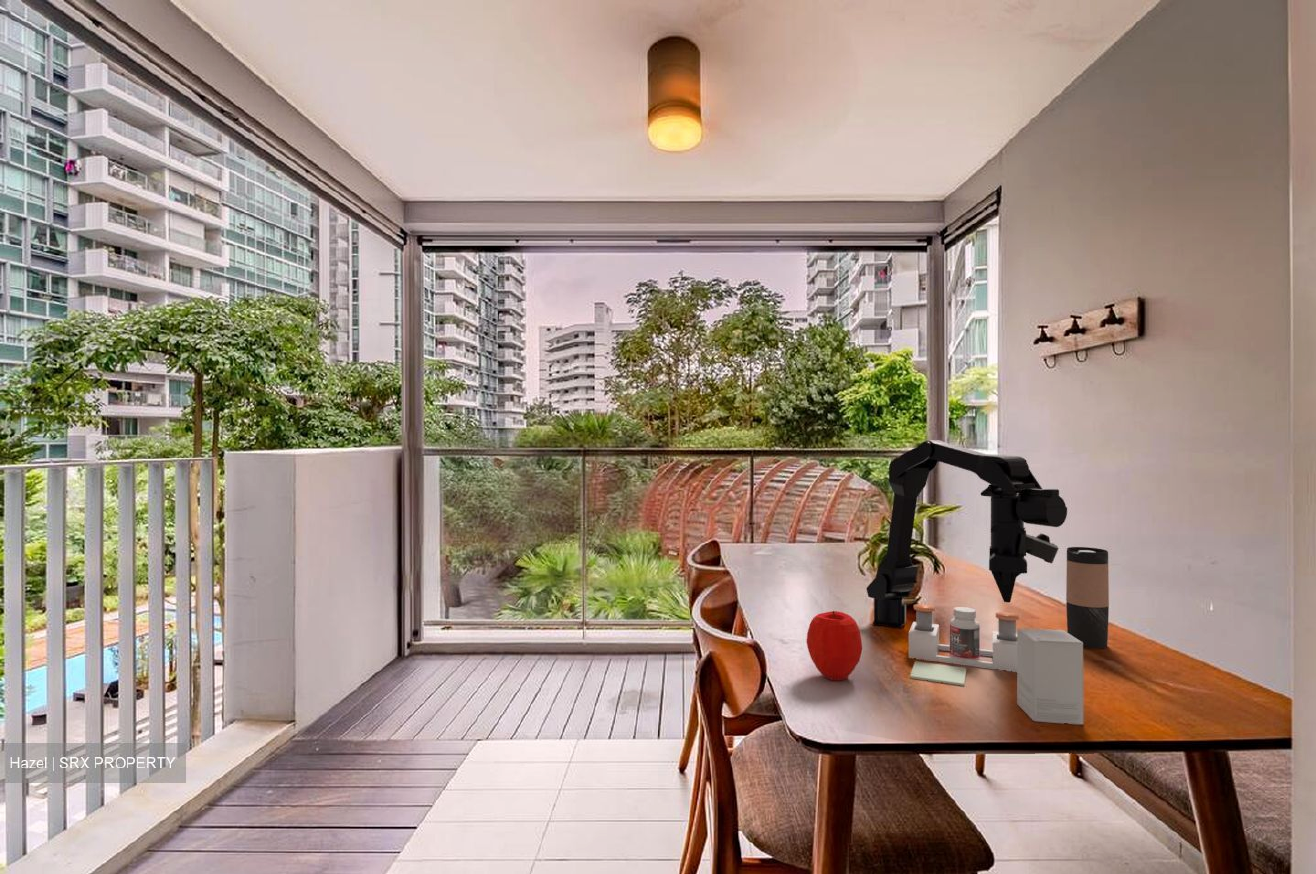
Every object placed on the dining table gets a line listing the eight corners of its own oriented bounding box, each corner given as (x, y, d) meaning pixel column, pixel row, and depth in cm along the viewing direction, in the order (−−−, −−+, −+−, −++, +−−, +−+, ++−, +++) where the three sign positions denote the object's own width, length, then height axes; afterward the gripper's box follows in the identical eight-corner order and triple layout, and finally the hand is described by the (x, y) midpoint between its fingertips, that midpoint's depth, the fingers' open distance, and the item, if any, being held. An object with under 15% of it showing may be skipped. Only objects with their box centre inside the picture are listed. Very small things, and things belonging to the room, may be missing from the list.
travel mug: (1105, 641, 147) (1105, 548, 147) (1112, 651, 140) (1111, 553, 140) (1064, 637, 150) (1064, 545, 150) (1068, 646, 143) (1068, 551, 143)
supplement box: (1085, 725, 104) (1085, 642, 104) (1032, 722, 105) (1032, 640, 105) (1065, 707, 111) (1064, 629, 111) (1015, 703, 112) (1015, 627, 112)
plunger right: (995, 642, 131) (995, 616, 131) (995, 636, 134) (995, 611, 135) (1019, 644, 129) (1019, 618, 129) (1018, 639, 133) (1018, 613, 133)
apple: (813, 665, 131) (813, 601, 131) (866, 672, 127) (866, 607, 127) (800, 681, 122) (800, 613, 122) (857, 690, 118) (857, 620, 118)
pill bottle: (946, 659, 135) (946, 609, 135) (954, 652, 139) (954, 604, 139) (975, 665, 131) (975, 614, 131) (983, 658, 135) (983, 608, 135)
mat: (910, 678, 124) (910, 675, 124) (915, 663, 132) (915, 661, 132) (964, 686, 120) (964, 683, 120) (966, 670, 128) (966, 668, 128)
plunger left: (912, 632, 138) (912, 607, 138) (914, 627, 141) (914, 603, 141) (934, 634, 136) (934, 609, 136) (935, 629, 139) (935, 605, 139)
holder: (908, 657, 135) (908, 632, 135) (913, 645, 144) (913, 621, 144) (1022, 673, 127) (1022, 646, 127) (1020, 659, 135) (1020, 633, 135)
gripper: (1059, 529, 120) (1059, 618, 120) (1051, 518, 137) (1051, 596, 137) (989, 525, 125) (989, 611, 125) (989, 515, 142) (989, 590, 142)
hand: (1007, 601), depth 132 cm, fingers closed
